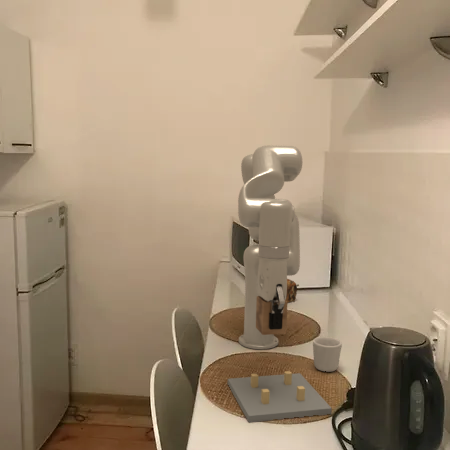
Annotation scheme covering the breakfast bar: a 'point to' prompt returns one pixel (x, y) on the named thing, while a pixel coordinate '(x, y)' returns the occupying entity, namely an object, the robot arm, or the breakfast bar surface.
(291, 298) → the bread
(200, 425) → the breakfast bar surface
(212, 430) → the breakfast bar surface
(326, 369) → the cup
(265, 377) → the base board
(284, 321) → the walnut block
